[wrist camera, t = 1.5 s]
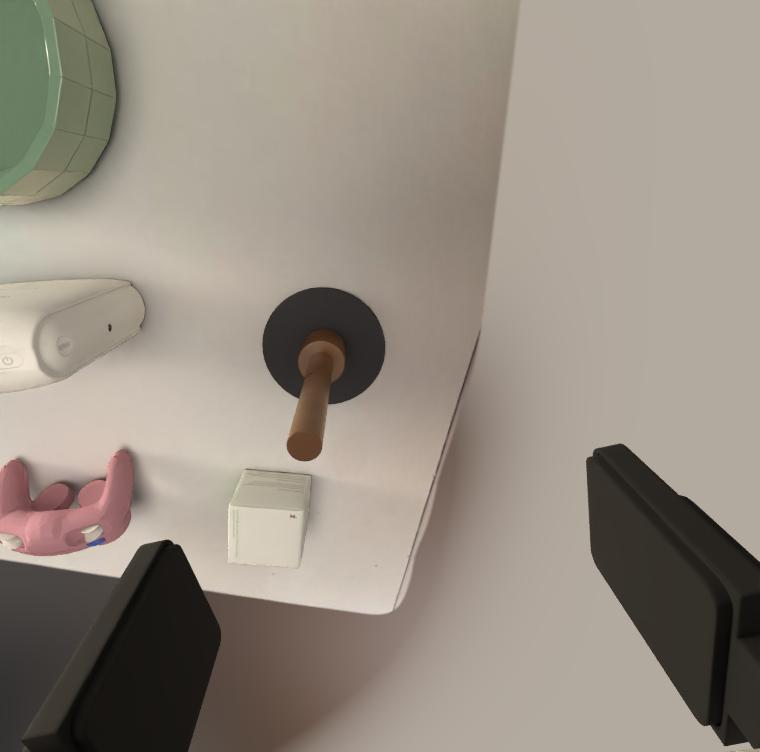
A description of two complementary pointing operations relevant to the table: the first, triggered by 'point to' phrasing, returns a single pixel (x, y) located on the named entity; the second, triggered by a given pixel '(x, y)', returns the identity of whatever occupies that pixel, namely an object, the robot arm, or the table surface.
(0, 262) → the table surface
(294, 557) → the small box
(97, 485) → the video game controller
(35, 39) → the bowl
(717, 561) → the robot arm
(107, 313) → the photo printer
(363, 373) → the coaster
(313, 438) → the pestle
